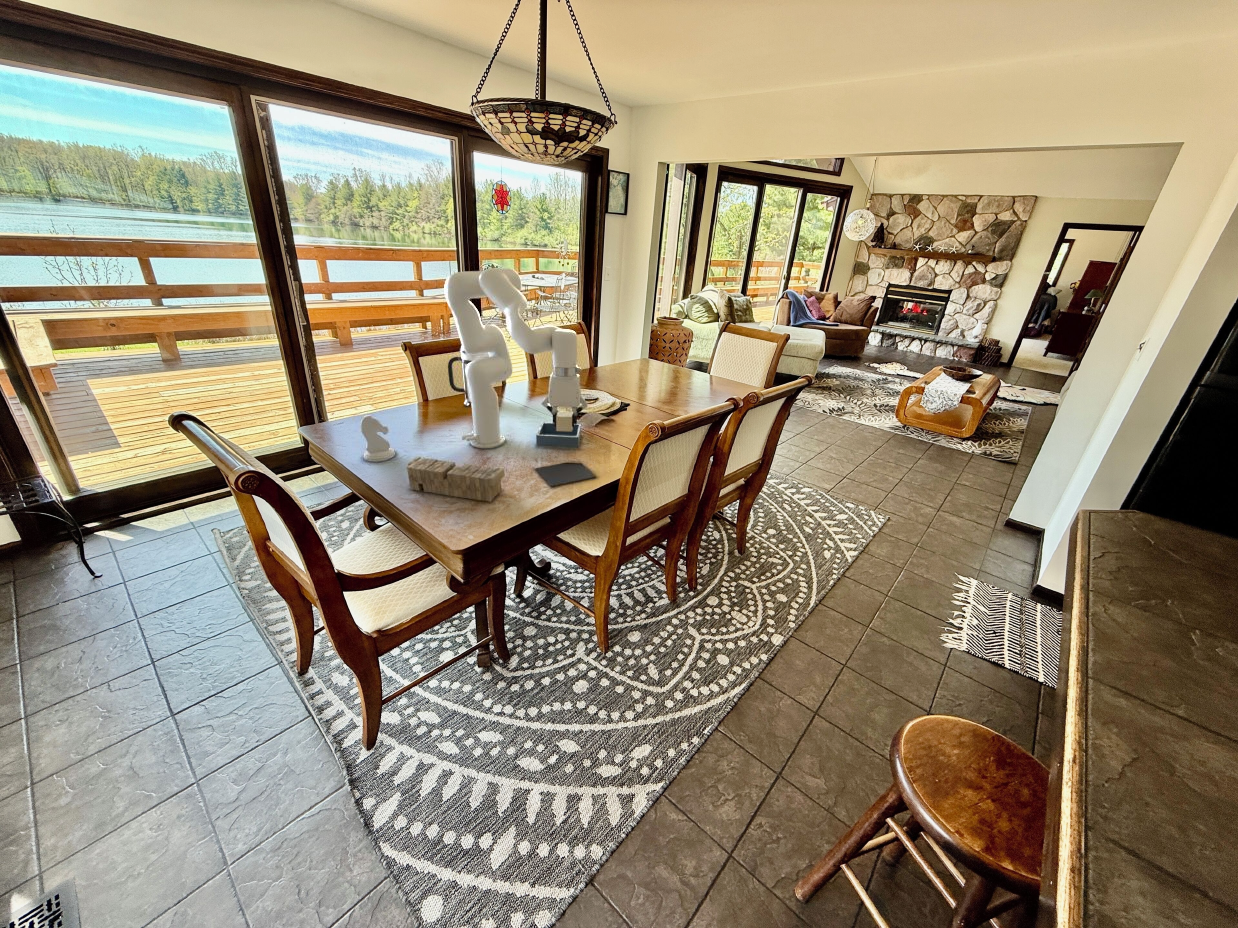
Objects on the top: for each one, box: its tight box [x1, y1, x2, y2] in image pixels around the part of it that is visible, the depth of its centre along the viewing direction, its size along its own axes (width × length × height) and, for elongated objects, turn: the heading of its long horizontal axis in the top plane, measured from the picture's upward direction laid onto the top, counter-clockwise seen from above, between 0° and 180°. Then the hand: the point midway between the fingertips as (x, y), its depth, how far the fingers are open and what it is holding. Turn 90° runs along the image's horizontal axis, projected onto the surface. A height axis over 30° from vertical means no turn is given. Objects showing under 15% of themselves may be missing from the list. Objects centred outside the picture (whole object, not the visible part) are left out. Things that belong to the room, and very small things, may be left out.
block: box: [556, 410, 573, 432], centre depth 156 cm, size 5×5×5 cm
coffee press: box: [447, 345, 489, 407], centre depth 215 cm, size 17×16×30 cm
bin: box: [535, 421, 582, 449], centre depth 184 cm, size 16×14×5 cm
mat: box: [535, 462, 597, 488], centre depth 161 cm, size 16×14×1 cm
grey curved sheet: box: [577, 412, 614, 427], centre depth 206 cm, size 14×10×3 cm
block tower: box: [406, 456, 505, 503], centre depth 145 cm, size 8×8×29 cm
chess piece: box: [360, 414, 396, 463], centre depth 163 cm, size 10×10×15 cm
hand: (564, 425), depth 157 cm, fingers closed on block, 5 cm apart
